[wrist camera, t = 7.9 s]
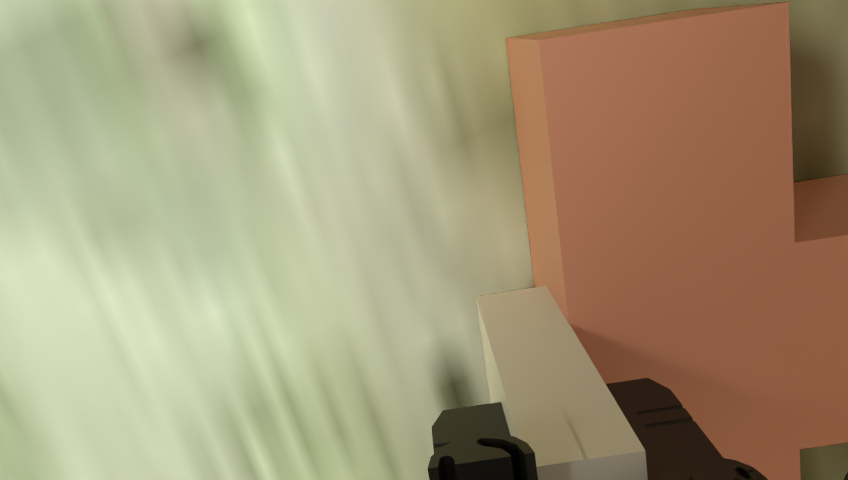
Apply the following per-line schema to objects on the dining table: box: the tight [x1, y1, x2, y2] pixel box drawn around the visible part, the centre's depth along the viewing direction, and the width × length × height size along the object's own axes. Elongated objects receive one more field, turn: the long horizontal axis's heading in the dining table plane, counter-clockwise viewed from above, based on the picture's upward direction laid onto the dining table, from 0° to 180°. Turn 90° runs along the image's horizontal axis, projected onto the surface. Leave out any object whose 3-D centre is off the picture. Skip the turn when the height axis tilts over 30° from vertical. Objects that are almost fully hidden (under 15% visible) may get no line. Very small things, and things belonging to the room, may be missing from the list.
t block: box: [506, 2, 848, 480], centre depth 16 cm, size 12×11×4 cm
